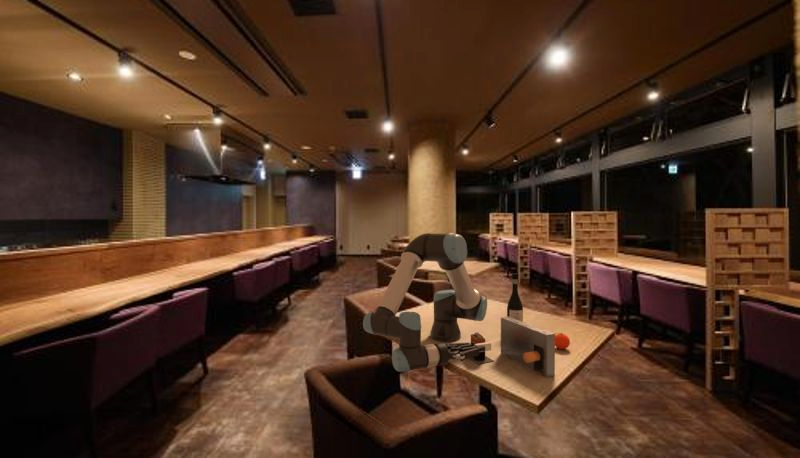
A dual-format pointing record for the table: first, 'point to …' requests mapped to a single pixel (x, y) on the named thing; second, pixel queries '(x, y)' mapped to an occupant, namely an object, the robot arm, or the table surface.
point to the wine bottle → (515, 301)
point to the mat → (482, 360)
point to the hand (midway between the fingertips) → (490, 346)
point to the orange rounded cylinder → (531, 356)
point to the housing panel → (528, 344)
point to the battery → (478, 339)
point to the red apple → (562, 341)
